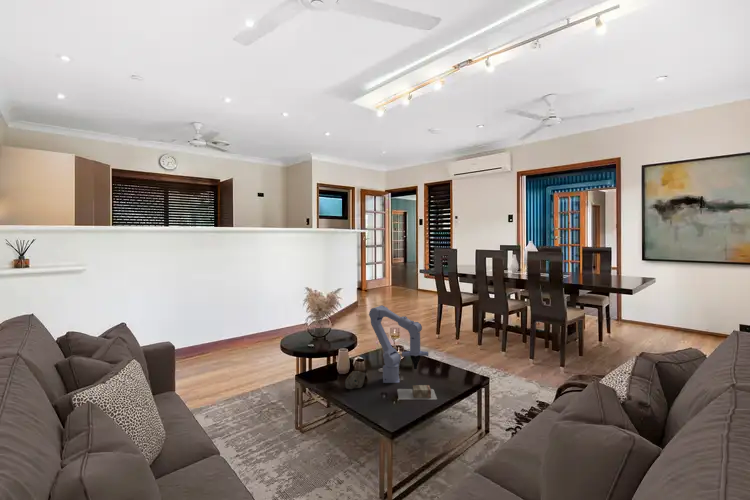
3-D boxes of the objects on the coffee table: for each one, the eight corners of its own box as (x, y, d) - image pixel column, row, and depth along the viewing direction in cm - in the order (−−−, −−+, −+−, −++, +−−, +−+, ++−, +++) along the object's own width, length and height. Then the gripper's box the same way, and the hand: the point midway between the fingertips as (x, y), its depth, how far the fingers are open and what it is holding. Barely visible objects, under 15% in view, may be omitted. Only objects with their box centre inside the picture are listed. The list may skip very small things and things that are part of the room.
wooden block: (413, 390, 188) (430, 390, 188) (412, 385, 194) (429, 385, 194) (413, 397, 188) (430, 397, 188) (412, 392, 194) (429, 392, 194)
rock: (348, 390, 195) (352, 371, 197) (343, 387, 200) (346, 368, 203) (367, 392, 201) (370, 373, 204) (361, 389, 207) (364, 371, 209)
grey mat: (398, 400, 186) (398, 399, 186) (397, 389, 198) (397, 389, 198) (437, 400, 186) (437, 399, 186) (433, 389, 198) (433, 389, 198)
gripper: (402, 347, 197) (402, 371, 197) (429, 346, 197) (429, 371, 197) (401, 343, 204) (401, 366, 204) (427, 342, 204) (427, 366, 204)
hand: (415, 368), depth 201 cm, fingers closed
